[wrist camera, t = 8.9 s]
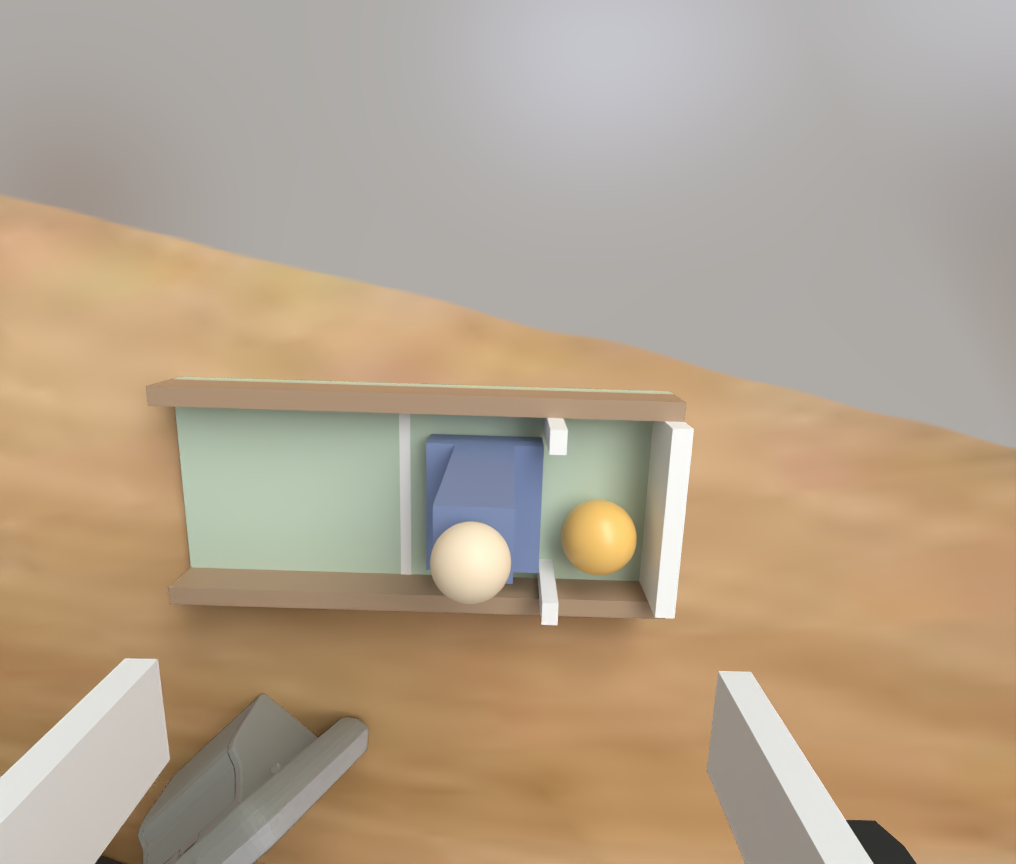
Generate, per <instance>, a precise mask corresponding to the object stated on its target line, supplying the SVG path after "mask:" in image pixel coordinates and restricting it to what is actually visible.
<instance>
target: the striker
mask: <svg viewBox="0 0 1016 864" xmlns="http://www.w3.org/2000/svg"><path fill="white" fill-rule="evenodd" d="M543 458H544V444H543V439H542V437H515V436H482V435H449V434H431V435H430V437H429V439H428V441H427V442H426V570H431V574H432V577H433V581H434V582H435V584H436V586H437V587H438V588H439V590H440V591H441V592H442V593H443V594H444V595H445V596H447V597H448V598H450V599H451V600H453V601H456V602H459V603H463V604H477V603H481V602H484V601H487V600H489V599H491V598H492V597H494V596H495V595H496V594H497V593H498V592H499V591H500V590H501V589H502V588H503V587H504V585H505V584H513V572H516V573H538V571H539V548H540V526H541V503H542V481H543Z"/></svg>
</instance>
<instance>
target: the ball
mask: <svg viewBox="0 0 1016 864" xmlns="http://www.w3.org/2000/svg"><path fill="white" fill-rule="evenodd" d="M561 543H562V547H563V550H564V553H565V555H566V556H567V558H568V560H569V561H570V562H571V563H572V564H573V565H574V566H575V567H576V568H578V569H579V570H581V571H583V572H585V573H587V574H591V575H598V576H602V575H608V574H612V573H615V572H617V571H618V570H620V569H622V568H623V567H624V566H625V565H626V564H627V563H628V562H629V561H630V559H631V558H632V556H633V554H634V551H635V548H636V543H637V534H636V529H635V526H634V523H633V521H632V519H631V517H630V516H629V515H628V513H627V512H626V511H625V510H624V509H623V508H621V507H620V506H618V505H617V504H615V503H613V502H610V501H606V500H589V501H586V502H583V503H581V504H579V505H578V506H576V507H575V508H574V509H573V510H571V512H570V513H569V514H568V515H567V517H566V519H565V521H564V523H563V526H562V530H561Z"/></svg>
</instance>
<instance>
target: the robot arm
mask: <svg viewBox="0 0 1016 864" xmlns="http://www.w3.org/2000/svg"><path fill="white" fill-rule="evenodd" d="M169 760H170V755H169V747H168V738H167V730H166V722H165V713H164V705H163V697H162V689H161V680H160V672H159V664H158V659H130V658H125V659H124V660H123V661H122V662H121V663H120V664H119V665H118V666H117V667H116V668H115V669H113V670H112V671H111V672H110V673H109V674H108V675H107V676H106V677H105V678H104V679H103V680H102V681H101V682H100V683H99V684H98V685H97V686H96V687H95V688H94V689H93V690H91V691H90V692H89V693H88V694H87V695H86V696H85V697H84V698H83V699H82V700H81V701H80V702H79V703H78V704H77V705H76V706H75V707H74V708H73V709H72V710H71V711H70V712H68V713H67V714H66V715H65V716H64V717H63V718H62V719H61V720H60V721H59V722H58V723H57V724H56V725H55V726H54V727H53V728H52V729H51V730H50V731H49V732H48V733H46V734H45V735H44V736H43V737H42V738H41V739H40V740H39V741H38V742H37V743H36V744H35V745H34V746H33V747H32V748H31V749H30V750H29V751H28V752H27V753H26V754H25V755H23V756H22V757H21V758H20V759H19V760H18V761H17V762H16V763H15V764H14V765H13V766H12V767H11V768H10V769H9V770H8V771H7V772H6V773H5V774H4V775H3V776H1V777H0V864H121V863H118V862H116V861H114V860H111V859H108V858H106V857H102V856H101V854H102V853H103V851H104V850H105V849H106V847H107V846H108V845H109V843H110V842H111V840H112V839H113V838H114V836H115V835H116V833H117V832H118V831H119V829H120V828H121V827H122V825H123V824H124V822H125V821H126V820H127V818H128V817H129V816H130V814H131V813H132V811H133V810H134V809H135V807H136V806H137V804H138V803H139V802H140V800H141V799H142V798H143V796H144V795H145V793H146V792H147V791H148V789H149V788H150V787H151V785H152V784H153V782H154V781H155V780H156V778H157V777H158V775H159V774H160V773H161V771H162V770H163V769H164V767H165V766H166V764H167V763H168V762H169ZM707 772H708V775H709V777H710V780H711V782H712V784H713V787H714V789H715V792H716V794H717V797H718V799H719V801H720V804H721V806H722V809H723V811H724V813H725V816H726V818H727V821H728V823H729V825H730V828H731V830H732V833H733V835H734V837H735V840H736V842H737V845H738V847H739V850H740V852H741V854H742V857H743V859H744V862H745V864H916V862H915V861H914V859H913V858H912V857H911V855H910V854H909V852H908V851H907V850H906V848H905V847H904V846H903V845H902V844H901V843H900V842H899V841H898V840H896V839H895V838H894V837H893V836H892V835H891V834H890V833H888V832H887V831H886V830H885V829H884V828H883V827H881V826H880V825H879V824H878V823H877V822H876V821H866V820H845V818H844V817H843V815H842V814H841V812H840V811H839V809H838V807H837V806H836V804H835V803H834V801H833V800H832V798H831V796H830V795H829V793H828V792H827V790H826V789H825V787H824V786H823V784H822V782H821V781H820V779H819V778H818V776H817V775H816V773H815V771H814V770H813V768H812V767H811V765H810V764H809V762H808V761H807V759H806V757H805V756H804V754H803V753H802V751H801V750H800V748H799V746H798V745H797V743H796V742H795V740H794V739H793V737H792V735H791V734H790V732H789V731H788V729H787V728H786V726H785V725H784V723H783V721H782V720H781V718H780V717H779V715H778V714H777V712H776V710H775V709H774V707H773V706H772V704H771V703H770V701H769V699H768V698H767V696H766V695H765V693H764V692H763V690H762V689H761V687H760V685H759V684H758V682H757V681H756V679H755V678H754V676H753V674H752V673H751V672H731V671H718V678H717V687H716V696H715V704H714V713H713V721H712V730H711V739H710V747H709V756H708V764H707Z"/></svg>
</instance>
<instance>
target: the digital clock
mask: <svg viewBox="0 0 1016 864" xmlns="http://www.w3.org/2000/svg"><path fill="white" fill-rule="evenodd" d="M367 746H368V727H367V726H366V724H365V723H364V722H362V721H360V720H359V719H355V718H351V717H343V718H341V719H340V720H339V721H338V722H336V723H335V724H334V725H333V726H332V727H331V728H329V729H328V730H327V731H326V732H325V733H323V734H322V735H321V736H320V737H319V738H318V737H317V736H316V735H315V734H313V733H312V732H311V731H310V730H308V729H307V728H306V727H305V726H304V725H302V724H301V723H300V722H299V721H298V720H296V719H295V718H294V717H293V716H292V715H290V714H289V713H288V712H287V711H286V710H284V709H283V708H282V707H281V706H279V705H278V704H277V703H276V702H275V701H273V700H272V699H271V698H270V697H269V696H267V695H265V694H261V695H260V696H259V697H258V698H256V699H255V700H254V701H253V702H252V703H251V704H250V705H249V706H248V707H247V708H246V709H245V710H244V711H243V712H241V713H240V714H239V715H238V716H237V717H236V718H235V719H234V720H233V721H232V722H231V723H230V724H229V725H227V726H226V727H225V728H224V729H223V730H222V731H221V732H220V733H219V734H218V735H217V736H216V737H215V738H214V739H212V740H211V741H210V742H209V743H208V744H207V745H206V746H205V747H204V748H203V749H202V750H201V751H200V752H198V753H197V754H196V755H195V756H194V757H193V758H192V759H191V760H190V761H189V762H188V763H187V764H186V765H185V766H183V767H182V768H181V769H180V770H179V771H178V772H177V773H176V774H175V775H174V776H173V778H172V779H171V781H170V782H169V784H168V785H167V786H166V788H165V789H164V791H163V792H162V794H161V795H160V797H159V798H158V799H157V801H156V802H155V804H154V805H153V807H152V808H151V809H150V811H149V812H148V814H147V815H146V817H145V818H144V820H143V822H142V824H141V826H140V828H139V832H138V838H139V841H140V844H141V846H142V849H143V864H253V863H254V862H255V861H256V860H258V859H259V858H260V857H261V856H262V855H263V854H264V853H266V852H267V851H268V850H269V849H270V848H271V847H272V846H273V845H274V844H275V843H276V842H277V841H278V840H279V839H280V838H281V837H282V836H283V835H284V834H285V833H286V832H287V831H288V830H289V829H290V828H291V827H292V826H293V825H294V824H295V823H296V822H297V821H298V820H299V819H300V818H301V817H302V816H303V815H304V814H305V813H306V812H307V811H308V809H310V808H311V807H312V805H313V804H314V803H315V802H317V801H318V800H319V799H320V798H321V797H322V796H323V795H324V794H325V793H326V791H327V790H328V789H329V788H330V787H331V786H332V785H333V784H334V783H335V782H336V781H337V780H338V779H339V778H340V777H341V776H342V775H343V774H344V773H345V772H346V771H347V770H348V769H349V768H350V767H351V766H352V765H353V764H354V763H355V762H356V760H357V759H358V758H359V757H360V756H361V755H362V754H363V753H364V752H365V751H366V750H367Z"/></svg>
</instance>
